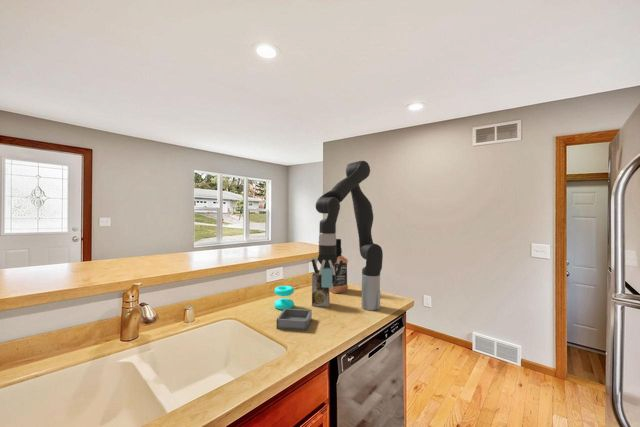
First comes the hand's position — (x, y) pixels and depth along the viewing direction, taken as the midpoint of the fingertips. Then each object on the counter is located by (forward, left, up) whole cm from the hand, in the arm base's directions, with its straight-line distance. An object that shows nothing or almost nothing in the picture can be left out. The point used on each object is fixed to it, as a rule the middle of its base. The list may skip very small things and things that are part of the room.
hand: (327, 282), depth 120 cm
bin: (+14, 0, -19) cm, 24 cm away
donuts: (+24, -19, -19) cm, 36 cm away
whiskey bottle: (-1, -52, -19) cm, 55 cm away
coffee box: (+6, -26, -19) cm, 33 cm away
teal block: (0, 0, -1) cm, 1 cm away
